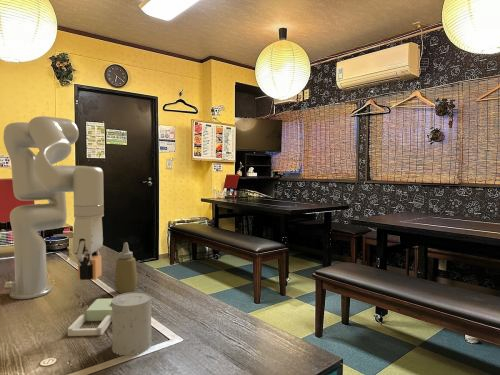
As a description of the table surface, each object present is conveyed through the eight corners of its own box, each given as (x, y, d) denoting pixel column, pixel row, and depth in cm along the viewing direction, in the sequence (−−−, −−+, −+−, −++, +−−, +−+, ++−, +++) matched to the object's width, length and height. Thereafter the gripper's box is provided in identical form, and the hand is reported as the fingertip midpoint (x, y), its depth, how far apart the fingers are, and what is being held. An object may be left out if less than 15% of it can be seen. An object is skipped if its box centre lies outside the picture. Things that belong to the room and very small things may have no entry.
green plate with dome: (67, 336, 93) (67, 322, 93) (92, 308, 111) (92, 297, 110) (126, 334, 94) (126, 320, 94) (141, 307, 112) (141, 296, 112)
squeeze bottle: (130, 296, 121) (129, 245, 120) (109, 294, 123) (109, 244, 122) (142, 288, 129) (141, 241, 128) (122, 286, 131) (121, 239, 130)
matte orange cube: (78, 279, 94) (77, 260, 94) (85, 274, 99) (84, 255, 99) (95, 279, 95) (95, 259, 94) (101, 274, 99) (101, 255, 99)
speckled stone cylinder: (118, 337, 93) (117, 292, 92) (154, 336, 93) (154, 291, 93) (106, 356, 83) (106, 306, 82) (147, 355, 84) (147, 305, 83)
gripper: (87, 207, 104) (88, 267, 105) (60, 215, 87) (62, 286, 88) (112, 207, 104) (113, 267, 105) (91, 215, 88) (92, 286, 89)
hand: (90, 275), depth 97 cm, fingers closed on matte orange cube, 4 cm apart
